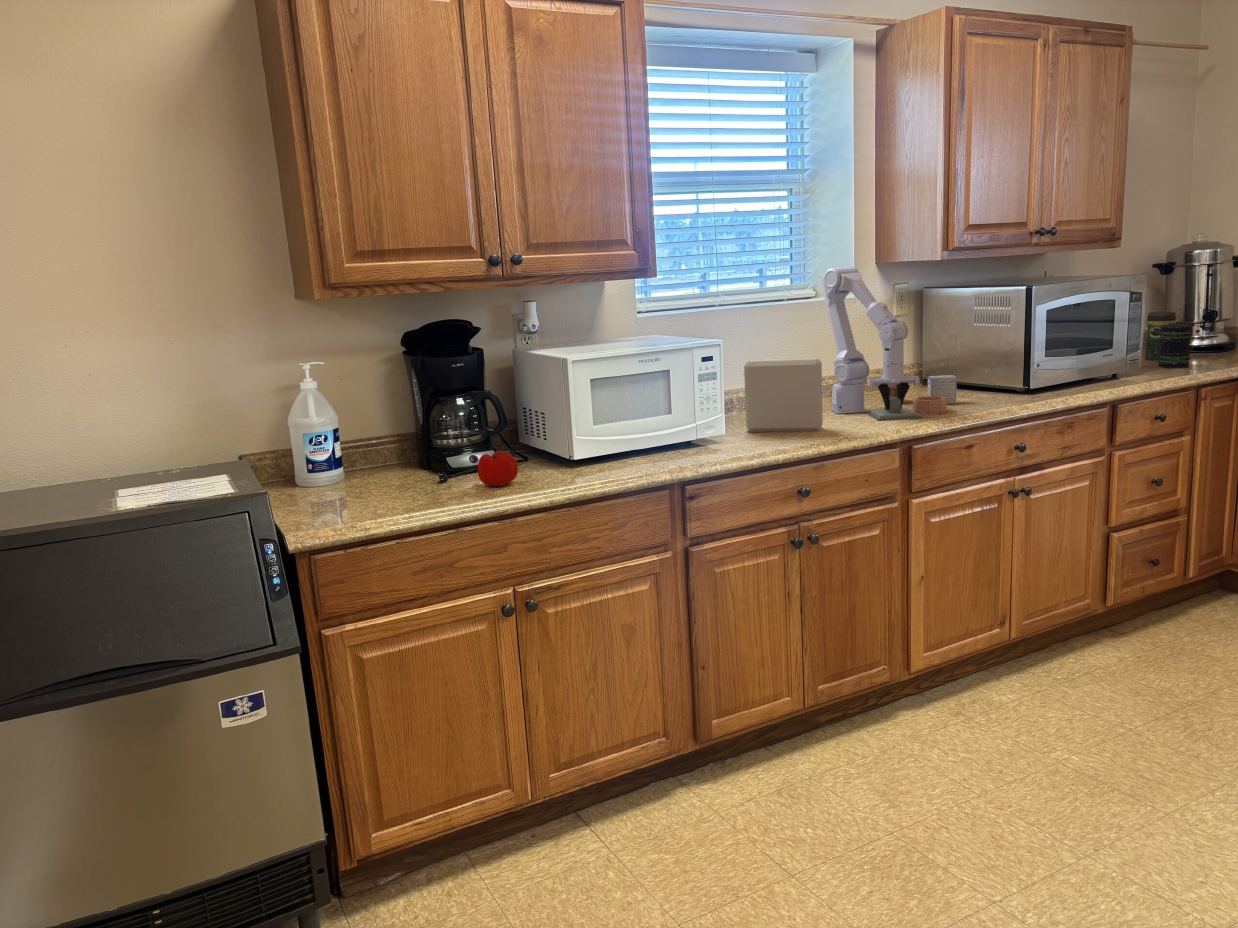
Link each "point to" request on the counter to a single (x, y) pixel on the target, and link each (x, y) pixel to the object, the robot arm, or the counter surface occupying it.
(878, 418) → the mat
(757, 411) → the taupe bevelled box
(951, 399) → the medicine box
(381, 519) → the counter surface
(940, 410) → the bowl
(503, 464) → the tomato
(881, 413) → the lid
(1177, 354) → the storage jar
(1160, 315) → the coffee jar
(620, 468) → the counter surface
